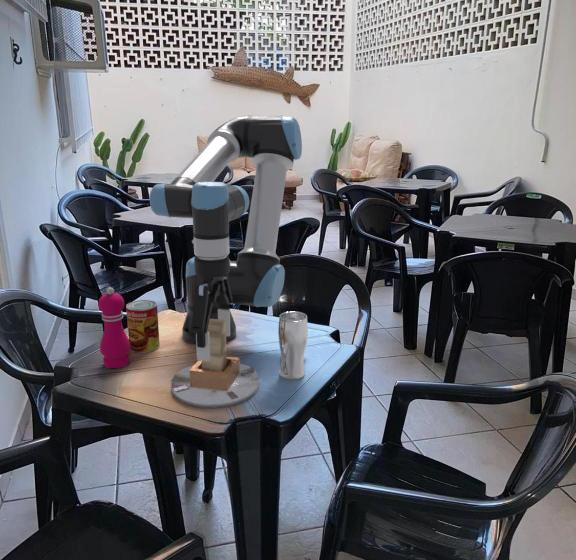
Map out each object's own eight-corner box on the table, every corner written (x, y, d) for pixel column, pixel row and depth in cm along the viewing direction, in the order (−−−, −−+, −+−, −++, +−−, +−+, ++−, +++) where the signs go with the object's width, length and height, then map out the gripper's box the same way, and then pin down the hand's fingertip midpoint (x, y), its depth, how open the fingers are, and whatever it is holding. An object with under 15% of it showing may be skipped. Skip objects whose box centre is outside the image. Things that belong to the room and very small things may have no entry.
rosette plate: (191, 362, 133) (190, 342, 132) (268, 371, 129) (268, 350, 128) (156, 401, 115) (154, 379, 113) (244, 413, 111) (244, 389, 109)
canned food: (123, 348, 141) (119, 306, 137) (144, 338, 147) (142, 298, 144) (144, 355, 137) (141, 312, 134) (165, 345, 144) (163, 303, 140)
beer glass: (290, 365, 133) (291, 309, 128) (312, 373, 129) (314, 315, 124) (272, 374, 128) (272, 316, 123) (294, 383, 123) (295, 323, 119)
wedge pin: (209, 374, 124) (207, 318, 120) (227, 376, 123) (225, 320, 119) (202, 382, 120) (199, 325, 116) (220, 384, 119) (218, 327, 115)
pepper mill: (95, 366, 131) (87, 289, 125) (116, 355, 137) (109, 281, 131) (117, 372, 128) (110, 294, 122) (137, 360, 134) (132, 285, 128)
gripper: (215, 242, 125) (217, 325, 132) (170, 269, 102) (176, 369, 108) (245, 244, 124) (246, 328, 130) (207, 272, 101) (210, 373, 107)
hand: (214, 347), depth 119 cm, fingers open, 13 cm apart
